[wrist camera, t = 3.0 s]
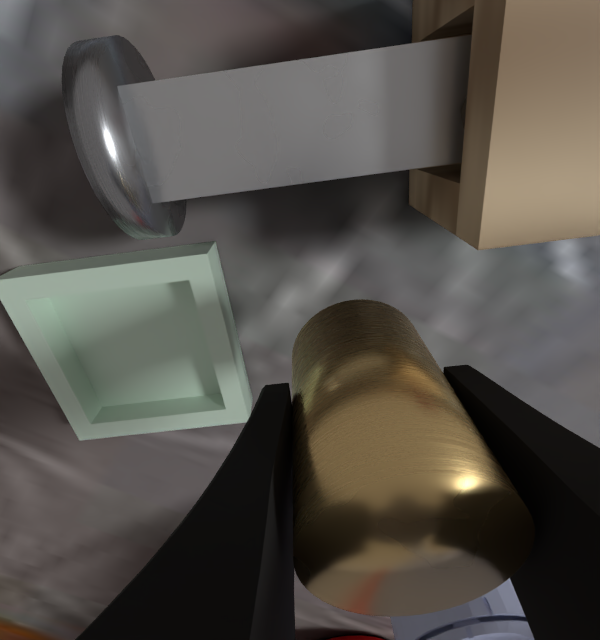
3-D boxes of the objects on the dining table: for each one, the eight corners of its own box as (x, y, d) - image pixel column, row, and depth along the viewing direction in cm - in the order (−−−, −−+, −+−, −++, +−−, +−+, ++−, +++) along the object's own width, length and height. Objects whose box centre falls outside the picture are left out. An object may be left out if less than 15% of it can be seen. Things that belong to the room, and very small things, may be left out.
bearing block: (600, 180, 15) (788, 211, 9) (408, 204, 16) (478, 250, 10) (657, -46, 12) (995, -204, 6) (412, -9, 12) (520, -128, 7)
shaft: (508, 175, 15) (617, 199, 10) (173, 218, 15) (117, 262, 10) (533, -2, 12) (697, -89, 7) (127, 58, 13) (24, 15, 8)
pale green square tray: (252, 398, 20) (249, 421, 19) (95, 416, 21) (79, 440, 19) (215, 240, 16) (207, 253, 14) (18, 266, 16) (-11, 281, 15)
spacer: (416, 401, 12) (512, 607, 7) (299, 412, 12) (305, 623, 7) (423, 292, 10) (559, 461, 5) (284, 307, 11) (278, 486, 5)
